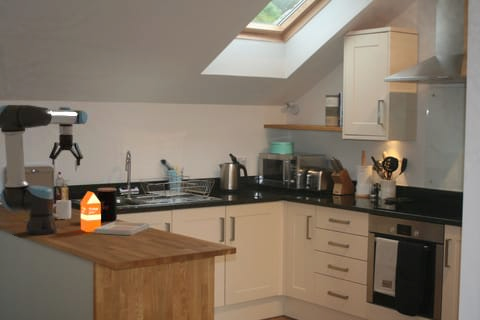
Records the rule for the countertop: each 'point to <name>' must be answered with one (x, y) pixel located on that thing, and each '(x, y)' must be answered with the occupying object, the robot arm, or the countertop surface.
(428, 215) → the countertop surface
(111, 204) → the coffee jar
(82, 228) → the orange juice
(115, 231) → the tray
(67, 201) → the mug
